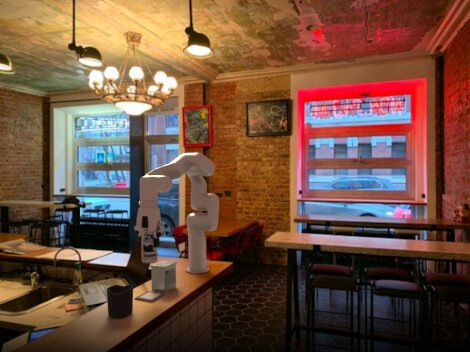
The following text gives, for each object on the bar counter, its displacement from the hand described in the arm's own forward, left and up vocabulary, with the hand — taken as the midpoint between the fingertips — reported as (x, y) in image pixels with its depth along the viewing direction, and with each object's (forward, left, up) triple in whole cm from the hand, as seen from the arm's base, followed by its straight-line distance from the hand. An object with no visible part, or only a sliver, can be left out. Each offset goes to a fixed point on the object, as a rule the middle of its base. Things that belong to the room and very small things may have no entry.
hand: (149, 246), depth 142 cm
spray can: (0, 0, -7) cm, 7 cm away
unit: (-11, -1, -22) cm, 24 cm away
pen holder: (+18, +1, -22) cm, 29 cm away
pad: (0, 0, -22) cm, 22 cm away
